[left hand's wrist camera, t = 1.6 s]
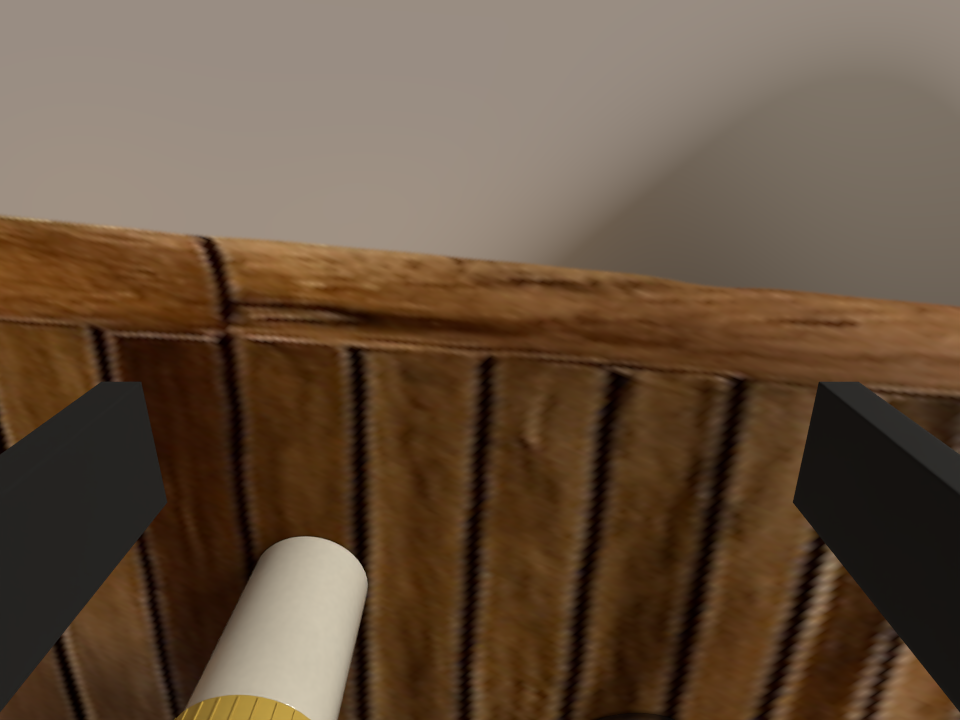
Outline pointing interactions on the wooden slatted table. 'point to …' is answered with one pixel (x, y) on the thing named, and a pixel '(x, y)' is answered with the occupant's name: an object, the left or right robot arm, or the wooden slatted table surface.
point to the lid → (240, 709)
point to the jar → (291, 629)
